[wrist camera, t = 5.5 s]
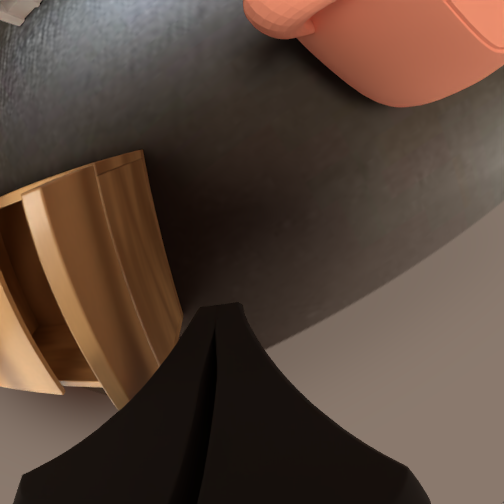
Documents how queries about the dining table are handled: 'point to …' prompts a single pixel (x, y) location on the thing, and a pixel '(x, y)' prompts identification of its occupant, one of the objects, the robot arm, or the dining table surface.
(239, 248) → the dining table surface
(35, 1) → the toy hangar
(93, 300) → the flap
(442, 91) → the teapot
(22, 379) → the wooden box
